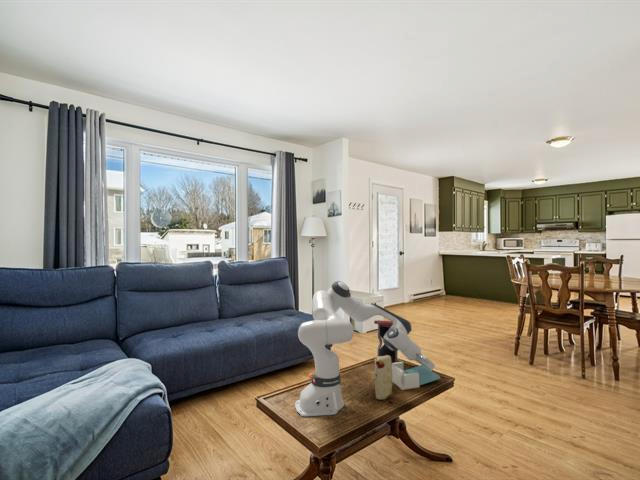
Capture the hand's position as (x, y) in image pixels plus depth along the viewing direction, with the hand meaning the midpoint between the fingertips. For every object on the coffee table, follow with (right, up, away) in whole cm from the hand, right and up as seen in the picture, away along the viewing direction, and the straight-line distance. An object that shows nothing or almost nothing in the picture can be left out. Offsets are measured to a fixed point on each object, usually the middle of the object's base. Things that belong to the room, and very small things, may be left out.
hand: (429, 367), depth 177 cm
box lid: (-10, -5, -2) cm, 11 cm away
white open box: (-15, -6, -3) cm, 17 cm away
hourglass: (-19, -5, +16) cm, 26 cm away
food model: (-28, -7, -20) cm, 35 cm away
